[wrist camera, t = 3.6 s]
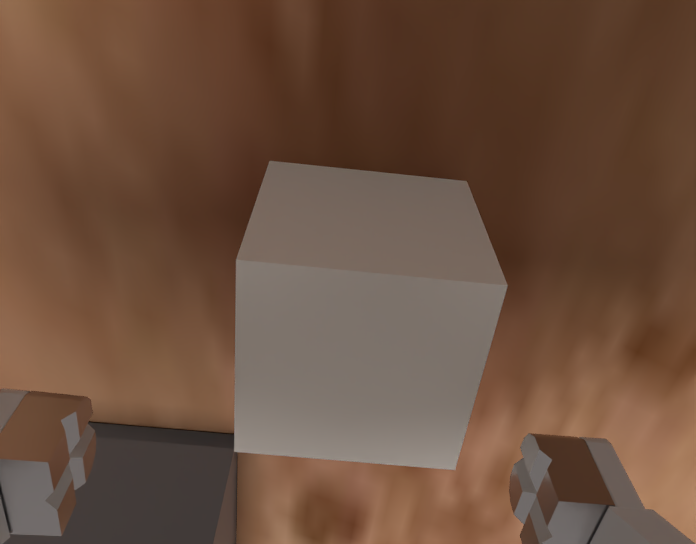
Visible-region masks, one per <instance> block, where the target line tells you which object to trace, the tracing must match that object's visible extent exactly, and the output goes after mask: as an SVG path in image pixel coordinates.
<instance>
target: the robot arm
mask: <svg viewBox="0 0 696 544" xmlns="http://www.w3.org/2000/svg"><path fill="white" fill-rule="evenodd" d="M92 414H93V410H92V404H91V399H90V398H88V397H85V396H76V395H67V394H57V393H48V392H39V391H23V390H15V389H6V388H3V389H1V390H0V544H3V543H4V542H5V541H6V540H7V539H9V538H10V534H20V535H45V536H62V534H63V532H64V530H65V528H66V525H67V523H68V521H69V519H70V517H71V514H72V512H73V510H74V508H75V506H76V497H75V490H76V489H78V488H79V487H81V486H82V485H83V484H85V483H86V481H87V479H88V476H89V474H90V472H91V469H92V465H93V461H94V457H95V453H96V434H95V430H94V429H93V428H92V427H91V426H90V425H89V424H88V422H89V420H90V418H91V416H92ZM520 448H521V451H522V454H523V457H524V458H522V459H521V460H520V461H518V462H517V463H515V464H514V467H513V470H512V473H511V476H510V486H509V494H510V502H511V506H512V510H513V513H514V515H515V516H516V517H517V518H518V519H519V520H520V521H521V522H522V523H523V524H524V526H523V529H522V531H521V534H520V538H521V541H522V544H695V543H694V542H692V541H691V540H690V539H689V538H687V537H686V536H685V535H684V534H682V533H681V532H680V531H679V530H677V529H676V528H675V527H674V526H673V525H671V524H670V523H669V522H668V521H666V520H665V519H664V518H663V517H661V516H660V515H659V514H658V513H656V512H655V511H654V510H650V509H645V507H644V506H643V504H642V502H641V500H640V498H639V496H638V494H637V492H636V490H635V488H634V486H633V485H632V483H631V481H630V479H629V477H628V475H627V473H626V471H625V469H624V467H623V465H622V463H621V462H620V460H619V458H618V456H617V454H616V452H615V450H614V448H613V446H612V444H611V443H610V442H609V441H608V440H607V439H602V438H587V437H579V438H578V437H571V436H558V435H544V434H531V433H528V435H527V436H526V437H525V438H524V440H523V442H522V445H521V447H520Z"/></svg>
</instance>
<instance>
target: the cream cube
mask: <svg viewBox="0 0 696 544" xmlns="http://www.w3.org/2000/svg"><path fill="white" fill-rule="evenodd" d="M507 287H508V285H507V282H506V280H505V277H504V275H503V272H502V270H501V267H500V265H499V262H498V259H497V257H496V254H495V252H494V249H493V247H492V244H491V242H490V239H489V237H488V234H487V231H486V229H485V226H484V224H483V221H482V219H481V216H480V214H479V211H478V208H477V206H476V203H475V201H474V198H473V196H472V193H471V191H470V188H469V185H468V183H467V181H461V180H451V179H442V178H432V177H422V176H413V175H403V174H393V173H384V172H374V171H364V170H355V169H345V168H335V167H326V166H316V165H306V164H297V163H287V162H277V161H269V164H268V167H267V170H266V173H265V176H264V179H263V181H262V184H261V187H260V190H259V193H258V196H257V199H256V202H255V205H254V208H253V211H252V214H251V217H250V220H249V223H248V226H247V229H246V232H245V235H244V237H243V240H242V243H241V246H240V249H239V252H238V255H237V258H236V311H235V418H234V452H243V453H255V454H267V455H279V456H291V457H303V458H315V459H328V460H340V461H352V462H364V463H376V464H388V465H400V466H413V467H425V468H437V469H449V470H455V468H456V464H457V461H458V458H459V454H460V451H461V447H462V444H463V440H464V437H465V433H466V430H467V426H468V423H469V419H470V416H471V412H472V409H473V405H474V402H475V398H476V395H477V391H478V388H479V384H480V381H481V377H482V374H483V370H484V367H485V363H486V360H487V356H488V353H489V349H490V346H491V342H492V339H493V336H494V332H495V329H496V325H497V322H498V318H499V315H500V311H501V308H502V304H503V301H504V297H505V294H506V290H507Z"/></svg>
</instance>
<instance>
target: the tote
mask: <svg viewBox="0 0 696 544" xmlns="http://www.w3.org/2000/svg"><path fill="white" fill-rule="evenodd" d="M88 424H89V425H90V426H91V427H92V428H93V429H94V430H95V434H96V453H95V457H94V461H93V465H92V469H91V472H90V474H89V476H88V479H87V481H86V483H85V484H83V485H82V486H81V487H79V488H78V489H76V490H75V497H76V506H75V508H74V510H73V512H72V514H71V517H70V519H69V521H68V523H67V525H66V528H65V530H64V532H63V534H62V536H45V535H20V534H10V538H9V539H7V540H6V541H5V542H4V543H3V544H236V520H237V452H234V434H222V433H210V432H198V431H186V430H174V429H162V428H150V427H138V426H127V425H115V424H103V423H91V422H88Z"/></svg>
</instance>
